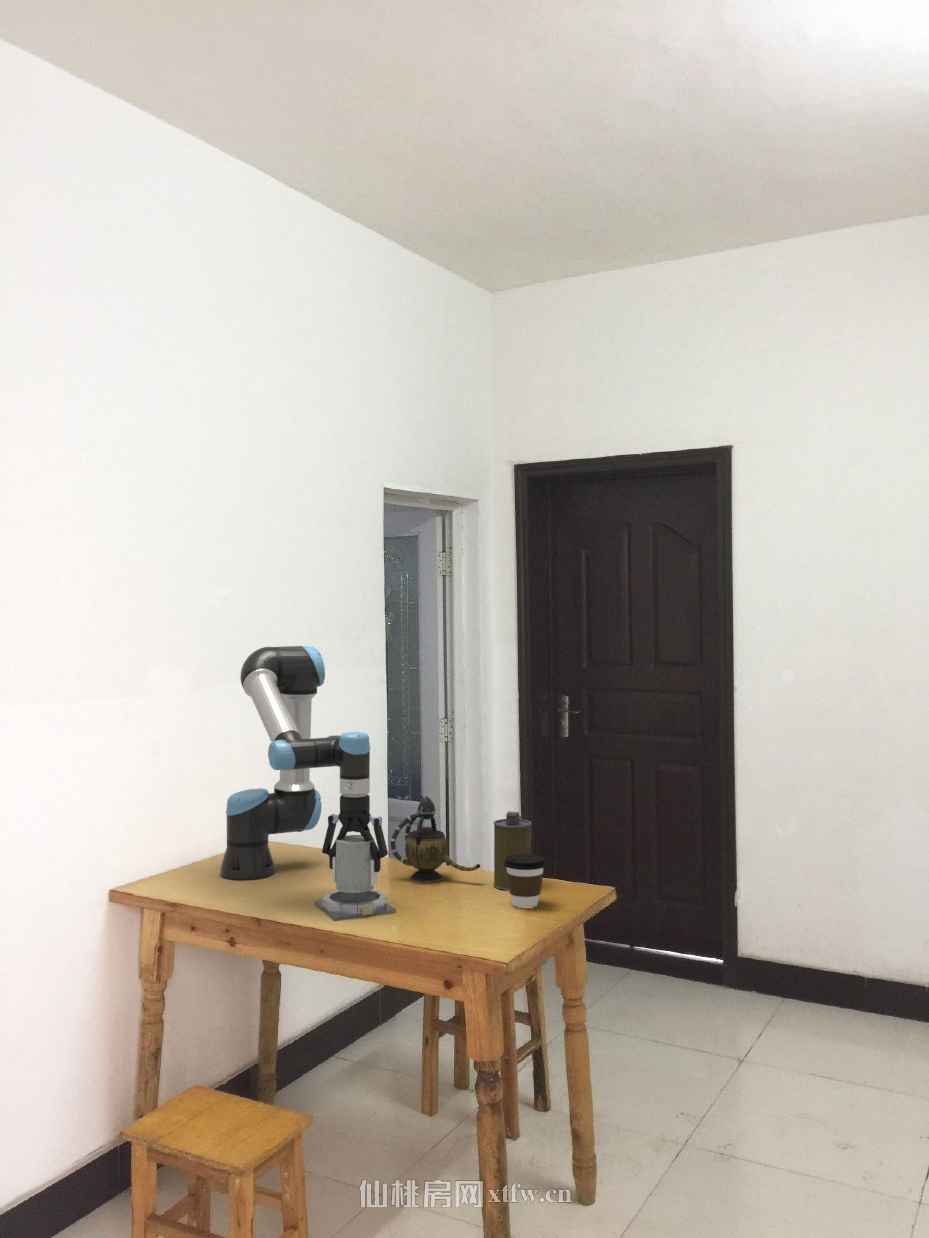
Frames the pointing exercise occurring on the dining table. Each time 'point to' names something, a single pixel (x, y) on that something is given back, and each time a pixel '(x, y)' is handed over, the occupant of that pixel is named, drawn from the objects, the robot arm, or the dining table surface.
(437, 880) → the teapot
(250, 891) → the dining table surface
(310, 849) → the dining table surface
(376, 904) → the socket
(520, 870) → the coffee cup
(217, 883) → the dining table surface
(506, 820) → the canister
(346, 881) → the grey speckled cylinder
